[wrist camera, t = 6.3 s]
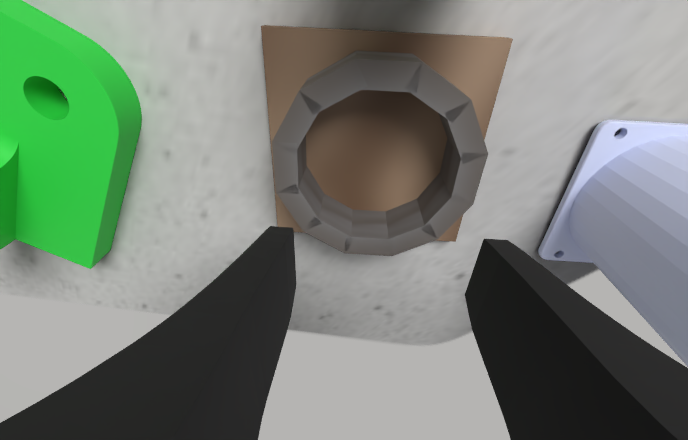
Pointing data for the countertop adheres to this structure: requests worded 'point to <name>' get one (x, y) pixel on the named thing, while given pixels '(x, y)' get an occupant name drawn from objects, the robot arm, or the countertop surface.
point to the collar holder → (378, 132)
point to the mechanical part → (61, 136)
